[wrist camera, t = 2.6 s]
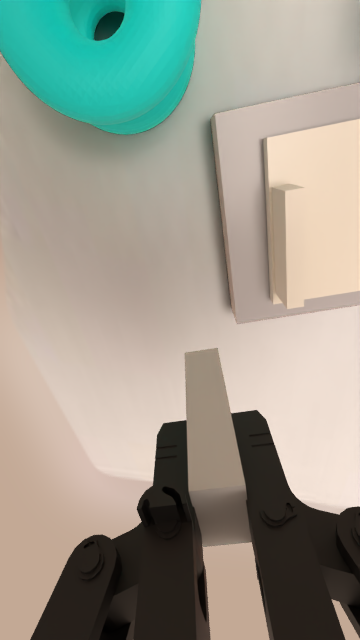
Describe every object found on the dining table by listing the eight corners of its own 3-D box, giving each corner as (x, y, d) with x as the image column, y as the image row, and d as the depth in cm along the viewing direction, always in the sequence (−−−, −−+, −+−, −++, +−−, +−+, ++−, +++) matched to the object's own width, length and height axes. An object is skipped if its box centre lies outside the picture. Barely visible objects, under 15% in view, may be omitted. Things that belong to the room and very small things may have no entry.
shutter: (263, 138, 20) (280, 134, 17) (387, 113, 20) (432, 103, 16) (270, 299, 26) (284, 321, 22) (367, 284, 25) (397, 304, 22)
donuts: (38, -359, 9) (255, -33, 12) (108, -103, 18) (223, 48, 21) (-90, -17, 12) (106, 169, 16) (22, 56, 21) (133, 165, 24)
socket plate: (210, 119, 23) (214, 113, 20) (508, 56, 21) (563, 38, 18) (231, 307, 30) (237, 324, 27) (453, 271, 29) (486, 285, 25)
